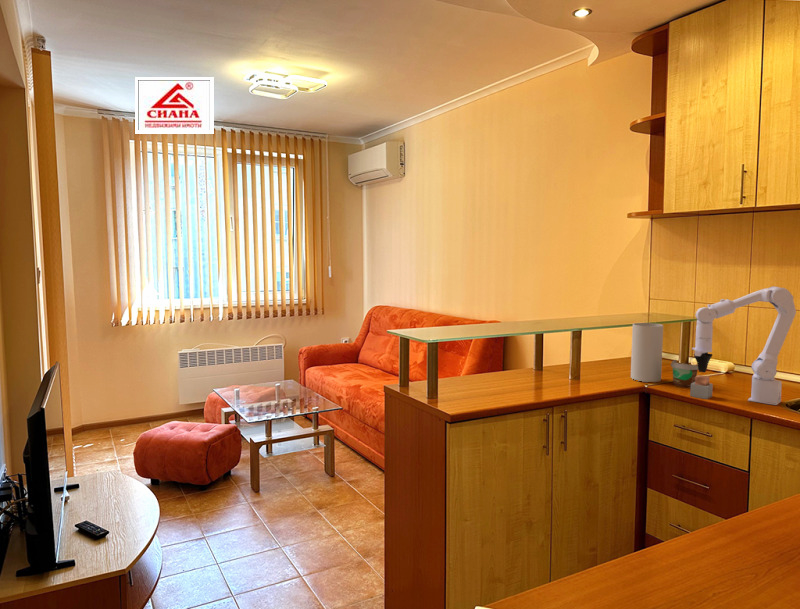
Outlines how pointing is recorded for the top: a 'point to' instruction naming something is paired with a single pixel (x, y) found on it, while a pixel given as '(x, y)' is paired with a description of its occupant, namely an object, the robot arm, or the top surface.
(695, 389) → the socket base
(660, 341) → the cylinder vase
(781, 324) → the robot arm
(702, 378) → the terracotta cube
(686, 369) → the food container
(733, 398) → the top surface
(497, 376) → the top surface
